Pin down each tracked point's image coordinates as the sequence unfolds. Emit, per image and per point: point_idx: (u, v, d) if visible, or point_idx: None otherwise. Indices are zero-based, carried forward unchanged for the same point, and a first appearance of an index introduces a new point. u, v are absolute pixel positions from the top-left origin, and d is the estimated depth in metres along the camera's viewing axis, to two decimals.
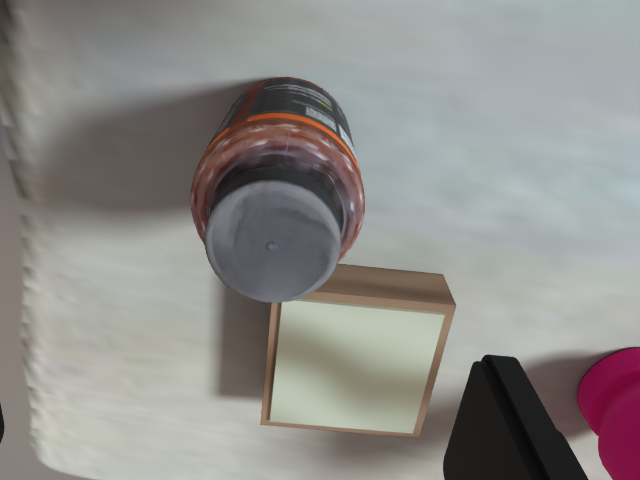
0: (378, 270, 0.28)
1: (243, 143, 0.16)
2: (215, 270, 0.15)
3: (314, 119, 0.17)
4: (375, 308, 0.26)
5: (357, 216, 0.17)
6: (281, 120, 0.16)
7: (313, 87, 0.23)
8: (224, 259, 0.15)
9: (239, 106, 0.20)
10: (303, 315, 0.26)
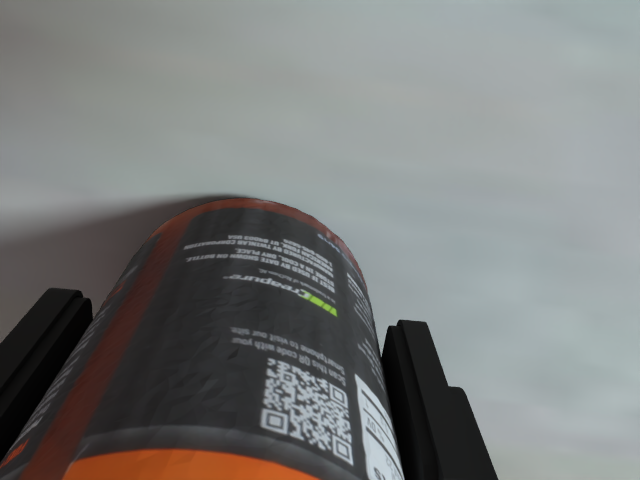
0: None
1: None
2: None
3: (286, 451, 0.06)
4: None
5: None
6: None
7: (296, 230, 0.11)
8: None
9: (113, 311, 0.08)
10: None
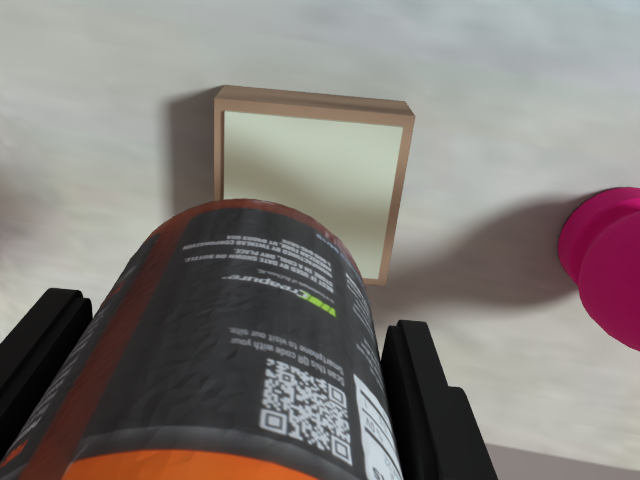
0: (334, 96, 0.26)
1: None
2: None
3: (285, 451, 0.06)
4: (327, 121, 0.24)
5: None
6: None
7: (294, 230, 0.11)
8: None
9: (112, 312, 0.08)
10: (249, 131, 0.24)
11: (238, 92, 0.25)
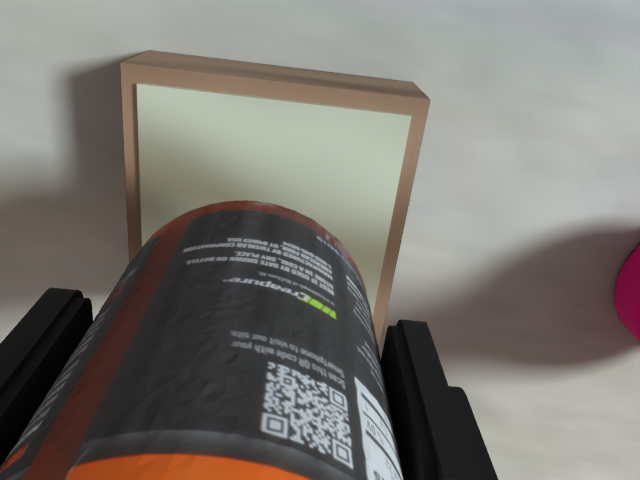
0: (310, 70, 0.18)
1: None
2: None
3: (286, 455, 0.06)
4: (295, 103, 0.15)
5: None
6: None
7: (295, 232, 0.11)
8: None
9: (113, 314, 0.08)
10: (175, 116, 0.15)
11: (165, 58, 0.16)
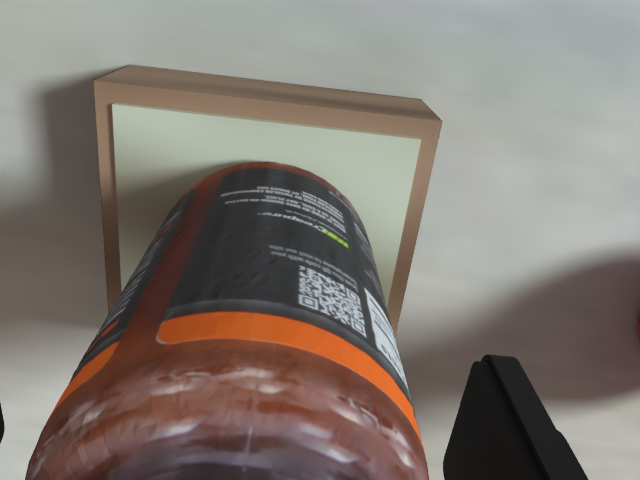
0: (308, 87, 0.16)
1: (132, 428, 0.06)
2: None
3: (318, 319, 0.08)
4: (291, 125, 0.14)
5: None
6: (237, 350, 0.07)
7: (311, 186, 0.13)
8: None
9: (167, 241, 0.10)
10: (156, 140, 0.14)
11: (146, 75, 0.15)
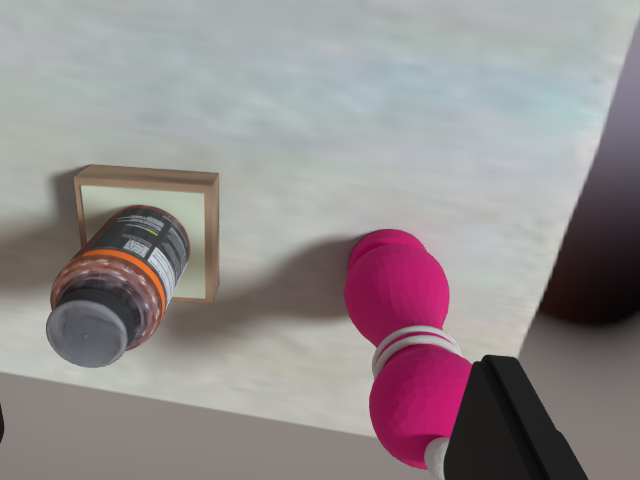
0: (167, 170, 0.37)
1: (74, 272, 0.27)
2: (55, 350, 0.26)
3: (127, 251, 0.29)
4: (151, 190, 0.35)
5: (152, 311, 0.28)
6: (100, 256, 0.27)
7: (154, 214, 0.34)
8: (58, 343, 0.26)
9: (95, 234, 0.31)
10: (99, 198, 0.35)
11: (95, 170, 0.36)
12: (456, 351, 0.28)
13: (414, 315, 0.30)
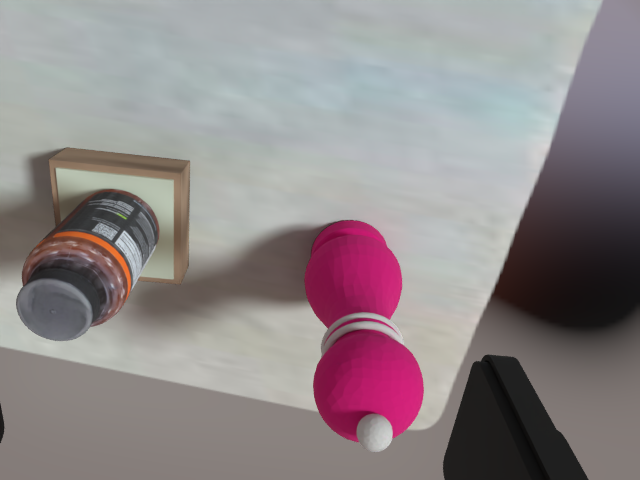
0: (140, 156, 0.39)
1: (45, 252, 0.29)
2: (24, 323, 0.28)
3: (95, 234, 0.30)
4: (123, 175, 0.37)
5: (117, 290, 0.30)
6: (69, 238, 0.29)
7: (125, 198, 0.36)
8: (28, 318, 0.28)
9: (67, 216, 0.33)
10: (72, 180, 0.37)
11: (70, 154, 0.38)
12: (397, 337, 0.30)
13: (363, 302, 0.33)
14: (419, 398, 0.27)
